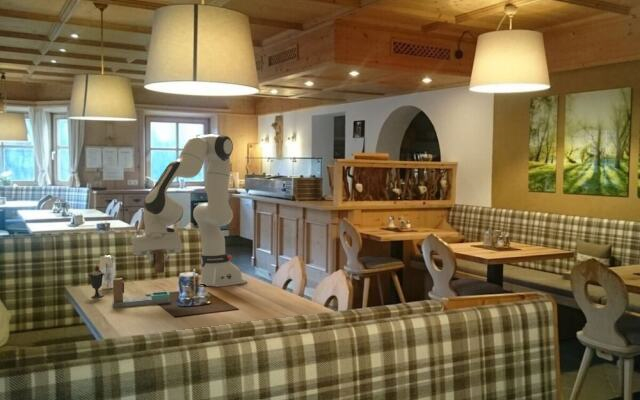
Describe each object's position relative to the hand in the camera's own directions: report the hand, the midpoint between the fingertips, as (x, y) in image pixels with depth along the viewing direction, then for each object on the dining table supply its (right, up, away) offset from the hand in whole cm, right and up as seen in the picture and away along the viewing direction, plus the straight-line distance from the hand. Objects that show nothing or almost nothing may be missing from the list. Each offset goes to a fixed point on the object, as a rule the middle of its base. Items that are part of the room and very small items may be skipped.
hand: (158, 260), depth 240 cm
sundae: (-31, -17, +13) cm, 38 cm away
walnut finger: (0, -5, +1) cm, 5 cm away
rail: (-7, -18, -1) cm, 19 cm away
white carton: (-33, -17, +33) cm, 50 cm away
